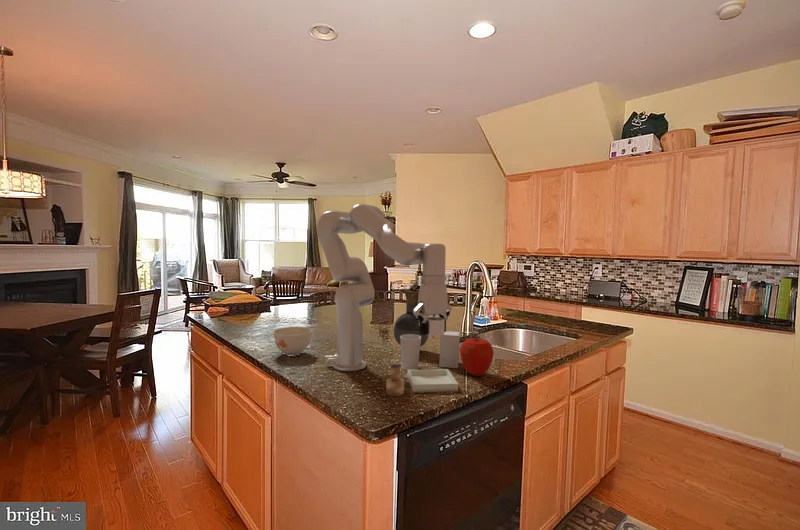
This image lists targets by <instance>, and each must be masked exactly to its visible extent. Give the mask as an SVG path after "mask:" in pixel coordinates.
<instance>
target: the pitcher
mask: <svg viewBox="0 0 800 530" xmlns="http://www.w3.org/2000/svg"><path fill="white" fill-rule="evenodd" d="M418 286H419V283H414V284H412V285H411V284H410V285H409V288H401V289H398V292H402V293H404V295H405V305H406V310H405V313H403V314H401V315H399V317H398V318H397V319H396V320H395V323H394V325H393V337H394V340H395V341H396V343H397V344H398V345H399V346H401V341H400V336H401V335H406V334H413V335H419V336H421V344H420V348H421V347H422V346H424V345H425V343H427V341H428V339H429V335H423V334H420V326H419V322H418V320H417V318H416V316H415V315H414V313H413V310H414V309H415V308H416V307H417V305H418V294H419V289H417V288H418ZM432 317H436V315H432ZM423 318H424V317H423ZM431 337H432V338H433V339H435V336H431Z"/></svg>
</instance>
